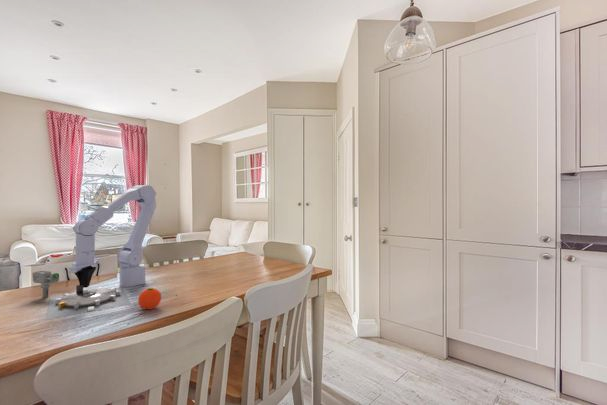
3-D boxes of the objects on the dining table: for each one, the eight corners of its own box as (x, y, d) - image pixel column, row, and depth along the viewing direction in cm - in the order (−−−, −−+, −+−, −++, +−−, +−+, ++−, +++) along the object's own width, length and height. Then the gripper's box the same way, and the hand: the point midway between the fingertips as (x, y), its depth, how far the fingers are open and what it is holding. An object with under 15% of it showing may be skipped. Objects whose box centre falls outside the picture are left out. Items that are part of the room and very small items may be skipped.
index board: (121, 289, 116) (122, 285, 116) (130, 306, 97) (130, 302, 97) (50, 300, 102) (50, 296, 102) (44, 323, 83) (45, 318, 83)
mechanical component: (52, 302, 100) (52, 274, 100) (29, 299, 103) (30, 272, 102) (60, 299, 103) (61, 272, 103) (39, 296, 105) (39, 270, 105)
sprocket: (131, 294, 106) (131, 283, 106) (77, 312, 89) (77, 298, 89) (99, 288, 113) (99, 277, 113) (42, 304, 95) (43, 291, 95)
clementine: (140, 305, 99) (141, 285, 99) (162, 303, 101) (162, 283, 101) (136, 314, 91) (136, 292, 91) (159, 311, 94) (160, 290, 94)
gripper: (85, 248, 113) (84, 281, 113) (60, 255, 98) (59, 293, 98) (104, 248, 114) (104, 281, 114) (82, 254, 100) (81, 292, 100)
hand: (84, 287), depth 106 cm, fingers closed
